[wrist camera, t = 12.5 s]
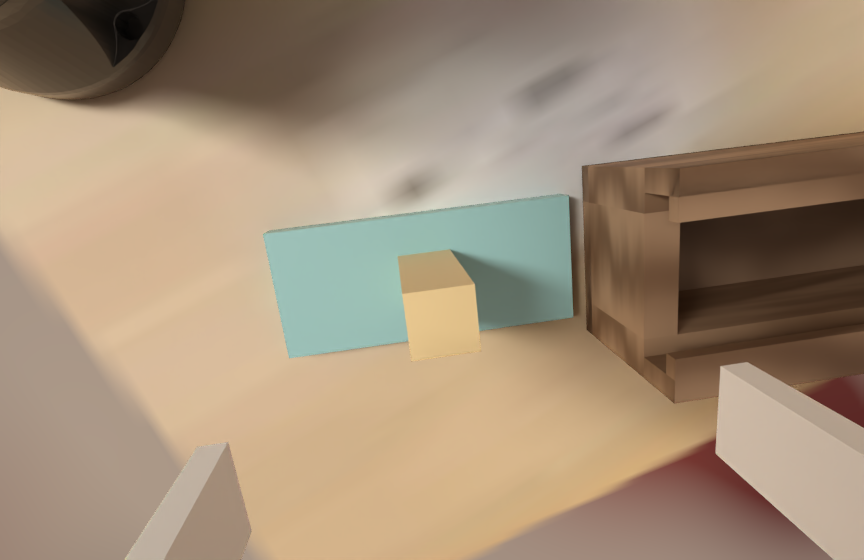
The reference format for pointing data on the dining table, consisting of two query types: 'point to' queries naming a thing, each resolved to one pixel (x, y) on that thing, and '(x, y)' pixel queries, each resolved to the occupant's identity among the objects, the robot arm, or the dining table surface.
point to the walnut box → (729, 262)
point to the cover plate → (366, 274)
